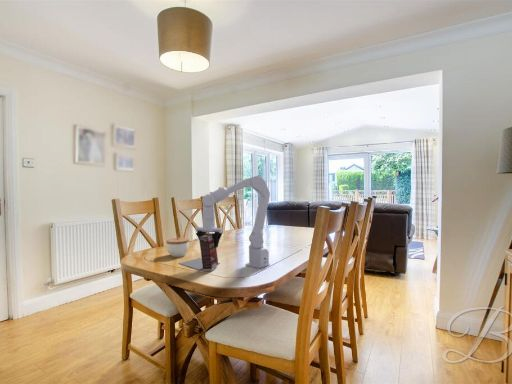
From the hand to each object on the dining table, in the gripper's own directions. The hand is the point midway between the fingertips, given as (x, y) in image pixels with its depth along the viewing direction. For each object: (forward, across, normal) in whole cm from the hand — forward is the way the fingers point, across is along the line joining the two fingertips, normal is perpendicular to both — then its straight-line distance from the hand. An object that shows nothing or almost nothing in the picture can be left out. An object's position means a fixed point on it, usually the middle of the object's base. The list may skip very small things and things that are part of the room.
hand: (209, 246), depth 131 cm
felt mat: (+10, +8, -3) cm, 13 cm away
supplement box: (+10, -2, +2) cm, 10 cm away
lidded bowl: (+10, +30, -13) cm, 34 cm away
